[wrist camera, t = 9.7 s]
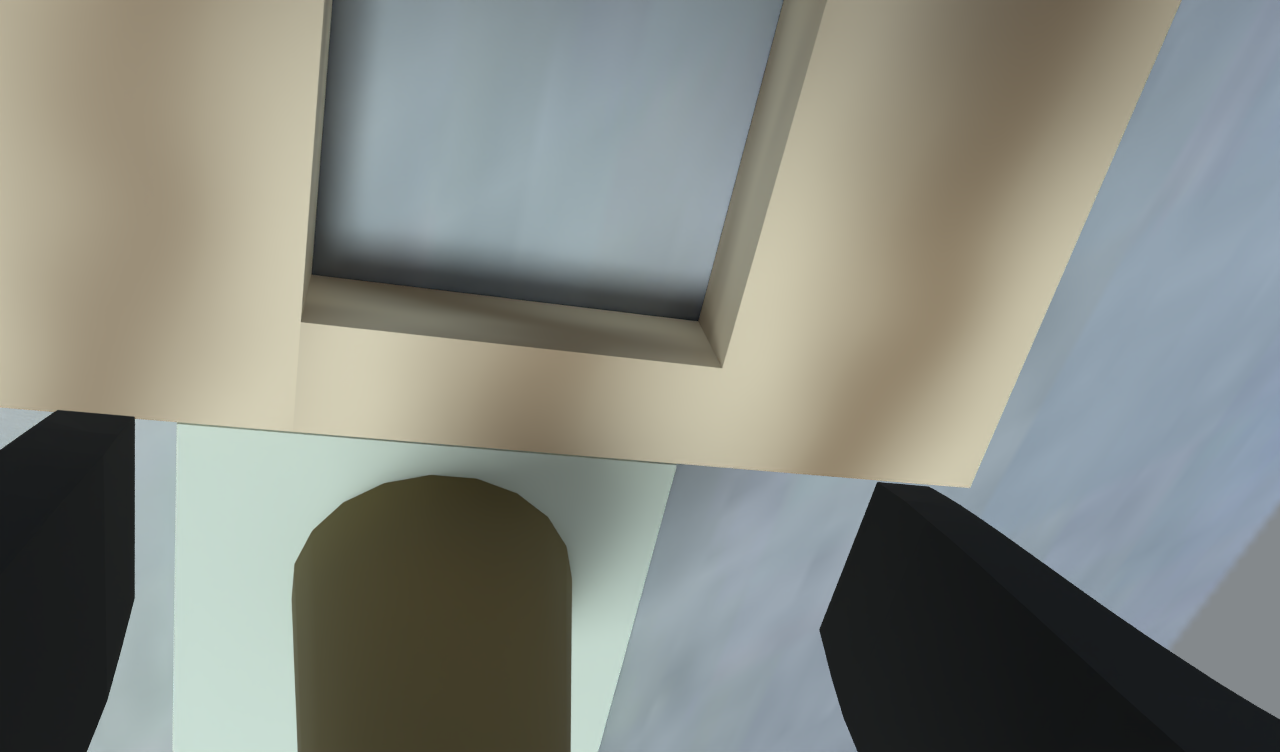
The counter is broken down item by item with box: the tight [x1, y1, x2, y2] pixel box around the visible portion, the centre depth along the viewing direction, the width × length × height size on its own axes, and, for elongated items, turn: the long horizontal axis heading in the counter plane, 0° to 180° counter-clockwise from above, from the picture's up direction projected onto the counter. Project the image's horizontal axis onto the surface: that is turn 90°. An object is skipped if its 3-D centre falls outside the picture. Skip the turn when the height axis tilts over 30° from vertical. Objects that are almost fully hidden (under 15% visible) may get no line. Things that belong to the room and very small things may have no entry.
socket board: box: [0, 0, 1181, 488], centre depth 18 cm, size 20×12×2 cm, turn 78°
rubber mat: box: [172, 422, 677, 752], centre depth 23 cm, size 10×10×1 cm
